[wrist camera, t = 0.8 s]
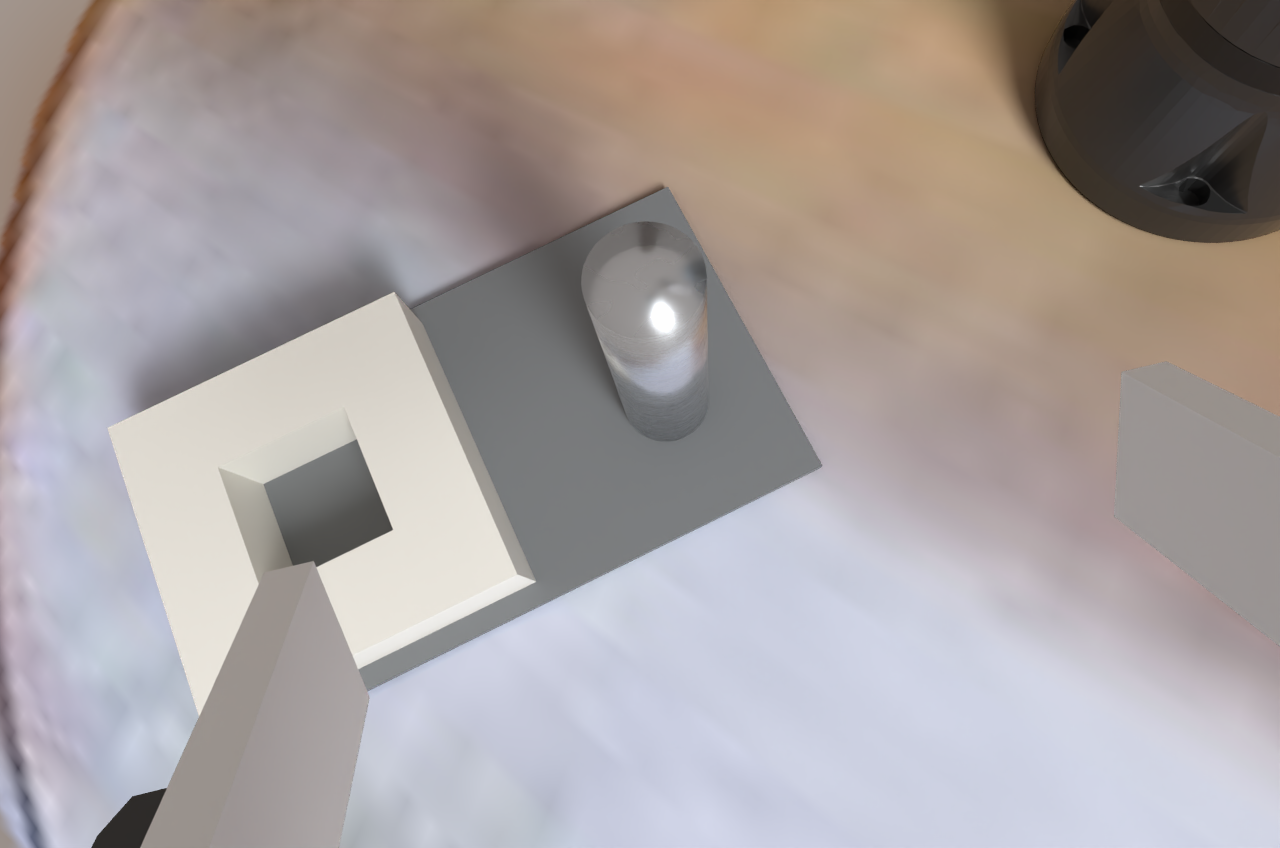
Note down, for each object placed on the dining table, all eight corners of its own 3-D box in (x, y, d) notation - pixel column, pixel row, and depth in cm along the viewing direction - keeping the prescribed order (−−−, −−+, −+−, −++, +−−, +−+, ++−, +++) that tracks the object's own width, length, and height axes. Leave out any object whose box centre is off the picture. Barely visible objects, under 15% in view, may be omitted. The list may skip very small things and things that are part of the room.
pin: (685, 346, 42) (672, 201, 28) (723, 418, 41) (728, 303, 27) (609, 382, 42) (561, 254, 28) (646, 456, 41) (613, 359, 27)
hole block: (422, 323, 43) (394, 291, 40) (536, 581, 40) (517, 574, 36) (161, 447, 43) (107, 427, 39) (253, 721, 39) (202, 728, 35)
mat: (668, 191, 45) (668, 186, 44) (820, 467, 41) (822, 465, 40) (125, 450, 43) (118, 448, 43) (224, 761, 39) (219, 762, 39)
